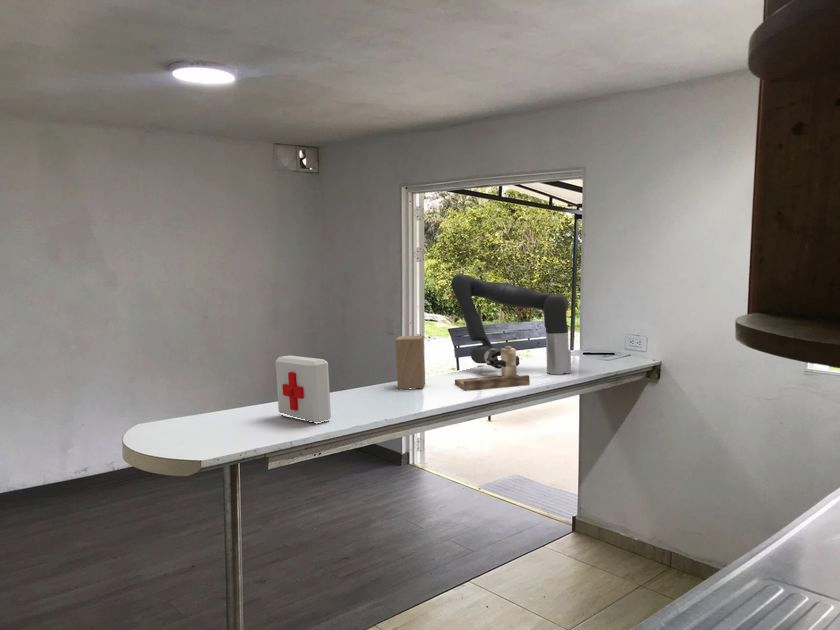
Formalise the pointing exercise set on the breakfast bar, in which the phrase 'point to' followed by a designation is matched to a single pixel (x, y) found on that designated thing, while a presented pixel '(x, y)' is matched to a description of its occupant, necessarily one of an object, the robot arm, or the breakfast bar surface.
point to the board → (488, 386)
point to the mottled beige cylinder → (508, 361)
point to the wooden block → (410, 362)
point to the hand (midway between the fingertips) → (511, 363)
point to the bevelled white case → (303, 387)
